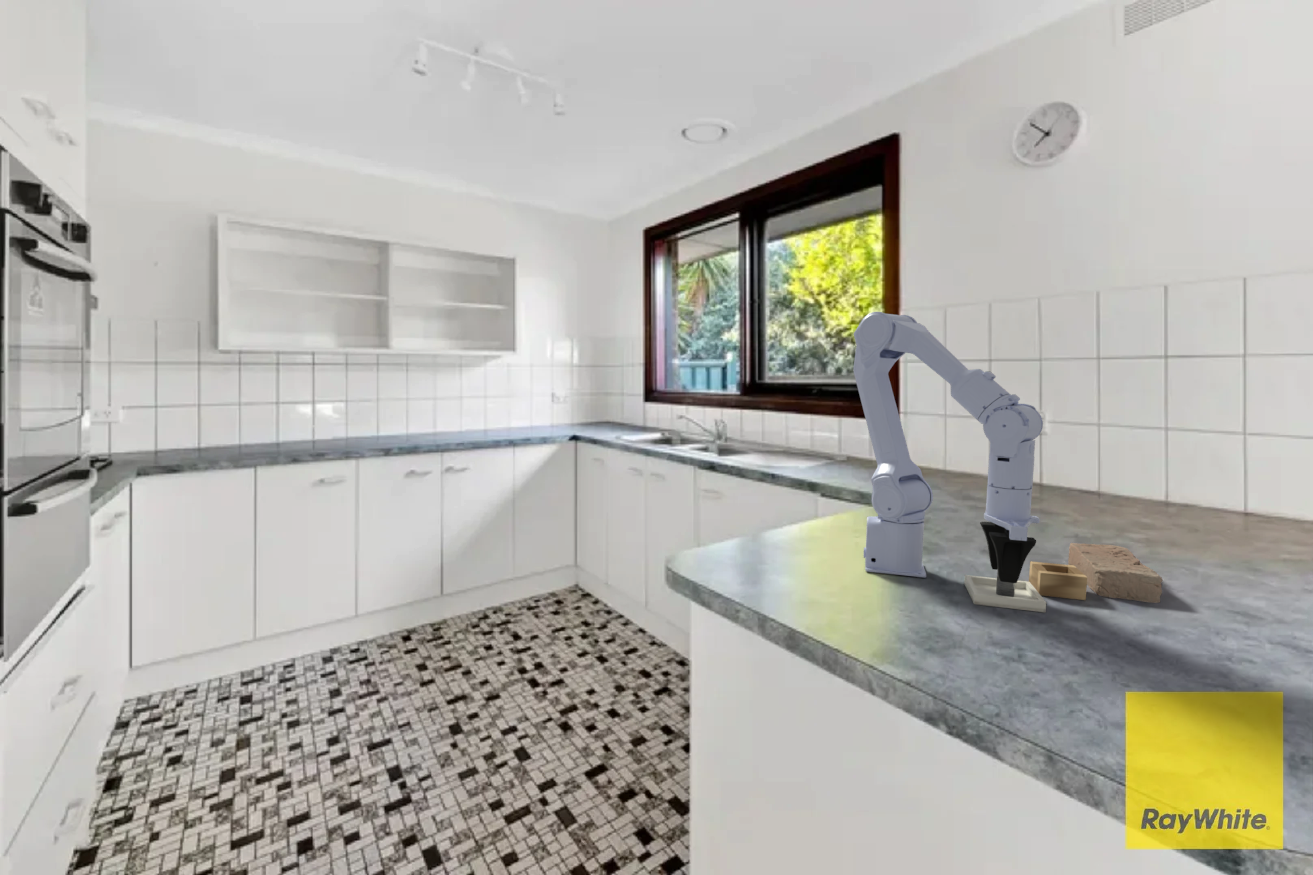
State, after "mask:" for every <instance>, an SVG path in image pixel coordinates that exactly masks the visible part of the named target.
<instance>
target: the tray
mask: <svg viewBox="0 0 1313 875" xmlns="http://www.w3.org/2000/svg"><path fill="white" fill-rule="evenodd" d="M963 582H964V583H963V585H964V587H965V588H966V591H967V593H968V594H969V597H970V599H971V601H972V603H973V605H977V606H978V605H979V606H987V607H993V608H994V607H995V608H1005V609H1012V610H1013V609H1014V610H1021V611H1027V612H1028V611H1029V612H1037V613H1038V612H1039V613H1046V611H1047V610H1046V609H1047V601H1046V600H1045V599H1044V598H1043V597H1042V595H1040V594H1039V593H1038V591H1037V590H1036V589H1035V588H1034V587H1033V585H1032V584H1031V583H1030V582H1029V580H1028V581H1027V580H1019V579H1018V581H1017V583H1015V595H1014V597H1009V596H1000V595H997V594H996V584H997V577H988V576H987V577H986V576H979V575H978V576H977V575H968V574H965V575H964V581H963Z"/></svg>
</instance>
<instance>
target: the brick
mask: <svg viewBox="0 0 1313 875" xmlns="http://www.w3.org/2000/svg"><path fill="white" fill-rule="evenodd" d="M1068 551H1069V552H1068V558H1067V563H1068V564H1067V565H1074V566H1075V567H1076V568H1077V569H1079V570H1080V571H1081V572H1082V573H1083V574H1084V575H1085V576H1086V577H1087V586H1088V587H1089V589H1091V590H1092V591H1093V592H1094V593H1095V594H1097V596H1099V597H1105V598H1111V599H1122V600H1131V601H1132V600H1133V601H1139V602H1145V603H1155V604H1158V603H1160V602H1161V597H1162V593H1163V590H1162V583H1163V581H1164V580H1163V577H1162V576H1160V574H1158V573H1157V572H1156V571H1155V570H1154V569H1152V568H1150V567H1149V566H1146V565H1145V564H1143V563H1141V561H1140V560H1139V558H1138V557H1136V556H1135V555H1134V554H1133V552H1132V551H1130V549H1129V548H1127V547H1123V546H1120V545H1112V544H1096V543H1077V542H1076V543H1075V542H1070V544H1069V548H1068Z"/></svg>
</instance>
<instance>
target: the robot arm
mask: <svg viewBox="0 0 1313 875" xmlns="http://www.w3.org/2000/svg"><path fill="white" fill-rule="evenodd" d="M853 336H854V337H853V338H854V341H855V345H856V347H855V354H854V363H853V368H852V369H853V375H854V379H855V382H856V383H855V384H856V387H857V391H858V394H859V398H860V402H861V406H862V407H861V408H862V410H863V414H864V417H865V422H866V425H867V430H868V434H869V437H870V442H871V446H872V449H873V453H874V458H875V460H876V461H875V462H876V465H877V467H876V469H875V470H874V472H873V475H872V476H871V480H870V481H871V484H872V492H871V506H872V507H873V510H874V511H875V513H876V514H877V516H867V517H866V533H865V534H866V535H865V536H866V537H865V546H864V547H863V558H864V559H865V562H864V563H865V564H864V565H865V566H864V567H865V569H864V570H865V572H869V573H876V574H879V573H880V574H886V575H887V574H888V575H898V576H906V577H907V576H908V577H915V578H916V577H917V578H927V572H926V570H925V566H924V562H923V550H924V535H925V534H924V532H925V530H924V529H925V516H926V513H925V512H926V511H928V510H929V508H930V507H931V505H932V503H933V502H934V493H933V490H932V488H931V486H930V484H929V483H928V482H927V481H926V479H925V478H924V476H923V473H922V470H921V468H920V467H919V466H918V465H917V464H916V463H915V462H914V461H913V460H912V459H911V456H910V452H909V448H908V445H907V440H906V437H905V432H904V430H903V425H902V421H901V417H900V415H899V411H898V410H899V409H898V407H897V403H896V400H895V396H894V391H893V388H892V383H891V381H890V376H889V372H890V370H891V369H892V367H894V365H895V363H896V362H897V361H898V360H899V359H901V358H902V357H903V356H904V355H905V354H906V353H907V354H913V355H914V356H915V357H916V358H918V359H919V360H920V361H922V363H924V364H925V365H926V366H927V367H928V368H930V369H931V370H932V371H933V372H935V373H936V374H938V375H939V376H940V377H941V378H942V379H943V380H944V381H946V382H947V383H948V384H949V385H950V396H951V398H953V399H954V401H956V402H957V403H958V404H959V405H960V406H961V407H962V408H964V409H965V411H967V412H968V413H969V414H970V415H971V416H972V417H974V419H975V420H976V421H978V422H979V423H980V424H982V429H983V430H982V431H983V432H984V435H985V437H986V438H987V439H988V441H989V455H988V470H987V485H986V498H985V499H986V502H985V503H986V504H985V512H984V513H983V518H984V520H985V521H981V522H979V525H980V526H981V528H982V531H983V534H984V536H985V540H986V544H987V548H988V549H987V550H988V556H989V562H990V566H991V567H990V568H991V569H992V570H995V571H996V570H997V568H998V575H999V579H1000V581H1001V582H1009V583H1017V581H1018V580H1019V578H1020V575H1021V572H1022V569H1023V566H1024V564H1025V561H1026V560H1027V558H1028V555H1029V553H1030V552H1031V551H1032V549H1033V548H1034V547H1035V546H1036V543H1037V539H1035V537H1031V536H1030V537H1029V536H1028V531H1029V530H1028V529H1029V527H1030V525H1032V524H1040V521H1041V519H1040V517H1038V516H1036V515H1031V511H1032V510H1031V509H1032V497H1033V484H1034V483H1033V482H1034V469H1035V468H1034V467H1035V449H1036V448H1035V446H1036V440H1035V439H1036V438H1038V436H1040V434H1041V432H1042V431H1043V427H1044V426H1043V425H1044V423H1043V422H1044V421H1043V418H1042V415H1041V414H1040V413H1039V411H1038V410H1037V408H1036V407H1035V406H1034V405H1032V404H1028V403H1019V401H1020V400H1021V398H1020V397H1019V396H1018V395H1017V394H1016V393H1015V394H1011V393H1010V392H1008V391H1007V390H1006V389H1005V388H1003V386H1001V385H1000V384H999V383H998V382H997V381H996V380H995V379H996V377H997V376H996V375H995V373H993V372H991V371H987V370H986V371H984V370H983V369H980V368H973V369H968V368H967V367H966V365H964V364H963V363H962V362H961V361H960V360H959V359H958V358H957V357H956V356H955V354H953V353H952V352H951V351H949V349H948V348H947V347H946V346H945V345H944V344H943V343H941V342H940V341H939V340H938V339H937V338H936V337H935V336H934V335H933V334H932V333H931V332H930V330H928V328H927V327H926V326H925V325H924V324H921V323H919V322H917V320H916V319H915V318H913V317H912V316H910V315H908V314H907V315H906V314H900V315H899V314H893V313H885V312H882V311H873V312H869V313H868V314H867V315H865V316H864V317H863V318H862V319H861V321H860V322H859V324H858V326H857V328H856V329H855V331H854V332H853Z"/></svg>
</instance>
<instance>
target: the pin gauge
mask: <svg viewBox="0 0 1313 875" xmlns="http://www.w3.org/2000/svg"><path fill="white" fill-rule="evenodd" d="M996 578H997V584H996V594H997V595H1000V596H1009V597H1014V595H1015V583H1009V582H1001V581H1000V579H999V575H998V568H997V571H996Z"/></svg>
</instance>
